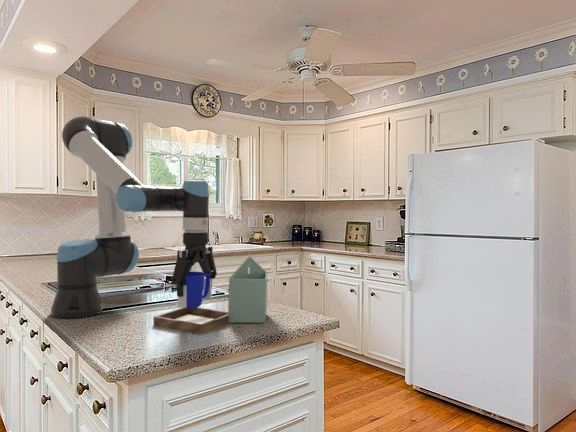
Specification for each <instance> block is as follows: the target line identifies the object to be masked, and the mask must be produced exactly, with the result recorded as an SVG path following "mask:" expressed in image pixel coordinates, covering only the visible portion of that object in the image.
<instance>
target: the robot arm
mask: <svg viewBox="0 0 576 432" xmlns="http://www.w3.org/2000/svg"><path fill="white" fill-rule="evenodd" d="M61 133H62V134H61V137H62V142H63V145H64V147H65V148H66V150H68V152H69V153H70V154H71V155H73V156H75V157H76V158H80V159H81V160H82V161H83V162H84V163H85V164H86V165H87V166H88V167H89V168H90V169H91V170H92V171H93V172H94V173H95V177H96V178H95V179H96V181H95V182H96V193H97V194H96V195H97V198H96V199H97V211H98V213H97V214H98V229H99V232H98V233H97V235H96V236H95V237H94V238H93V239H92V238H91V239H85V238H84V239H76V240H71V241H67V242H64V243H61V244H60V245H59V246H58V247H57V254H56V261H57V262H56V263H57V269H56V270H57V274H56V275H57V281H56V283H57V286H56V287H57V289H56V290H57V291H56V294H55V297H54V299H53V303H52V305H51V308H50V315H51V316H52V317H54V318H58V319H78V318H79V319H80V318H87V317H91V316H95V315H94V314H96V313H98V312H101V311H102V310H103V308H104V307H103V302H102V299H101V295H100V293H99V292H100V291H99V290H98V278H102V277H108V276H109V277H110V276H115V275H116V276H117V275H122V274H125V273H129V272H131V271H132V270H133V269H134V268H135V266H137V264H138V262H139V255H140V251H139V247H138V245H137V243H136V242H135V241H134V240H131V239H132V238H131V234H130V233H129V232H127V231H126V230H127V229H126V216H125V212H131V213H138V212H139V213H140V212H141V213H142V212H143V213H144V212H182V213H183V215H182V230H183V231H184V232H183V233H182V243H183V245H185V248H184V249H178V250H177V252H176V254H177V255H176V256H177V257H176V261H175V266H174V270H173V274H172V277H171V282H170V283H171V284H173V285H175V286H176V297H177V307H178V308H186V307H187V288H186V285H185V282H186V276H188V275H189V273H190V271H192V267H193V266H194V265H195V264H196V263H198V264H199V267H200V269H201V272H203V273H209V274H210V283H209V291H208V294H207V296H206V297H205V298H202V300H208V301H211V300H212V293H213V292H212V291H213V289H212V288H213V279H216V276H217V275H218V274H217V273H218V272H217V267H216V264H215V263H216V262H215V259H214V255H213V246H206V245H208V244H209V232H208V230H209V202H210V201H209V199H210V192H209V183H208V182H207V181H206V180H199V179H198V180H196V179H194V180H193V179H190V180H189V179H188V180H187V179H186V180H184V181H183V186H181V187H179V186H155V185H152V186H151V185H145V184H144V183H143V182H142V181H141V180H140V179H139V178H137V176H135V175H134V174H133V173H132V172H131V171H130V170H129V169H128V168H127V167H126V166H125V165H124V164H123V163H124V162H125V161H126V160H127V155H129V154H130V153H131V151H132V150H131V149H132V147H133V138H132V134H131V132H130V130H129V128H127V127H126V125H124V124H123V123H120V122H116V121H113V120H105V119H99V118H93V117H90V116H76V117H74V118H72V119H70V120H69V121H67V122H66V124H64V127H63V129H62V132H61ZM181 280H182V281H181ZM205 286H206V275H205V276H204V286H203V294H204V292H205ZM102 312H103V311H102ZM102 312H101V313H102ZM96 315H97V314H96Z"/></svg>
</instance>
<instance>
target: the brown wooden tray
mask: <svg viewBox="0 0 576 432" xmlns="http://www.w3.org/2000/svg"><path fill="white" fill-rule="evenodd" d="M152 322H153V326H155V327H161V328H165V329H171V330H175V329H176V331H180V330H181V331H180V332H185V331H187V332H186V333H190V332H192V333H191V334H195V333H198V334H197V335H200V334H203V335H205V334H207V333H206V332H208V331H210V332H212V331H214V330H213V329H215V330H216V328H217V329H219V328H222V327H224V326H226V325H228V323H229V322H228V311H225V310H218V309H214V308H213V309H211V308H206V307H201V306H199V307H197V308H182V307H178V308H177V309H173V310H171V311H167V312H165V313H161V314H157V315H155V316H153V321H152ZM229 324H230V323H229ZM223 325H224V326H223ZM221 326H222V327H221ZM218 327H219V328H218ZM211 330H212V331H211ZM204 333H205V334H204ZM208 333H209V332H208Z"/></svg>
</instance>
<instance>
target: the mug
mask: <svg viewBox="0 0 576 432" xmlns="http://www.w3.org/2000/svg"><path fill="white" fill-rule="evenodd" d="M205 275H206V277H205ZM204 278H206V286H205V292H204V294H203V286H204ZM181 281H182V280H181ZM209 283H210V274H209V273H203V271H193V270H190V273H189V275H188V276H186V282H185V285H186V288H187V307H186V308H197V307H201V305H202V303H203V298H205V297H206V296H207V294H208V291H209Z"/></svg>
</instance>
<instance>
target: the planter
mask: <svg viewBox="0 0 576 432" xmlns="http://www.w3.org/2000/svg"><path fill="white" fill-rule="evenodd" d="M228 279H229V280H228V282H229V283H228V310H227V312H228V322H229V324H231V323H232V324H235V323H237V324H238V323H240V324H241V323H242V324H243V323H244V324H245V323H247V324H248V323H251V324H256V323H259V324H260V323H262V324H264V323H266V320H267V303H268V301H267V300H268V299H267V298H268V272H267V271H266V270H265V269H264V268H263V267H262V266H261V265H259V264H258V263H257V261H255V259H254V258H252V257H251V255H249V256H247V258H246V259H245V260H244V261H243V262H242V263H241V264H240V266H238V268H237V269H236V270H235V271H234V272H233V274H232V275H231V276H230V277H229V278H228Z"/></svg>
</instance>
